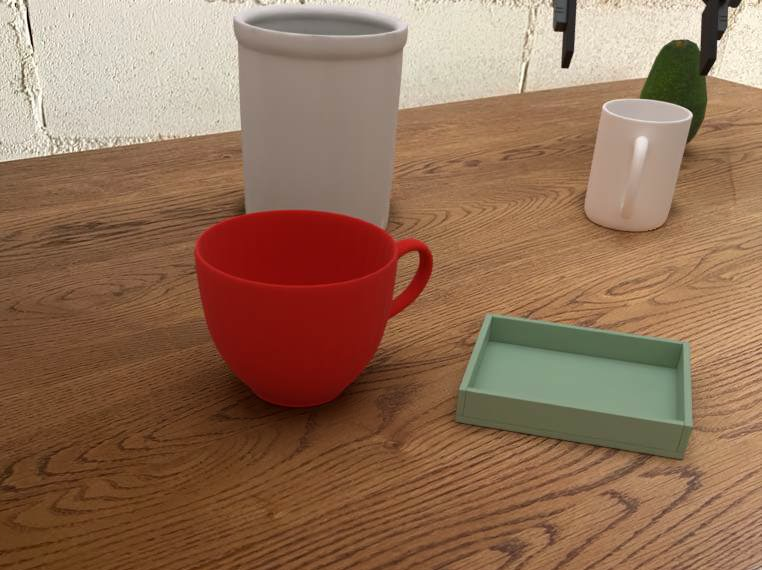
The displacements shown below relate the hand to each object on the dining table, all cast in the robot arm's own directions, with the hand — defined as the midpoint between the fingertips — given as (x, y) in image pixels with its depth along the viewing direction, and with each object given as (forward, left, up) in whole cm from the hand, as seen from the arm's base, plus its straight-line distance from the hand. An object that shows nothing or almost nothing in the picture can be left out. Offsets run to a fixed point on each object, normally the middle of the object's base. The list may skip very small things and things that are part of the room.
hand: (637, 64), depth 90 cm
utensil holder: (+27, +18, -13) cm, 35 cm away
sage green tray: (0, +44, -13) cm, 46 cm away
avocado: (-5, -19, -13) cm, 23 cm away
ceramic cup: (+18, +47, -13) cm, 52 cm away
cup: (-2, +8, -13) cm, 15 cm away
